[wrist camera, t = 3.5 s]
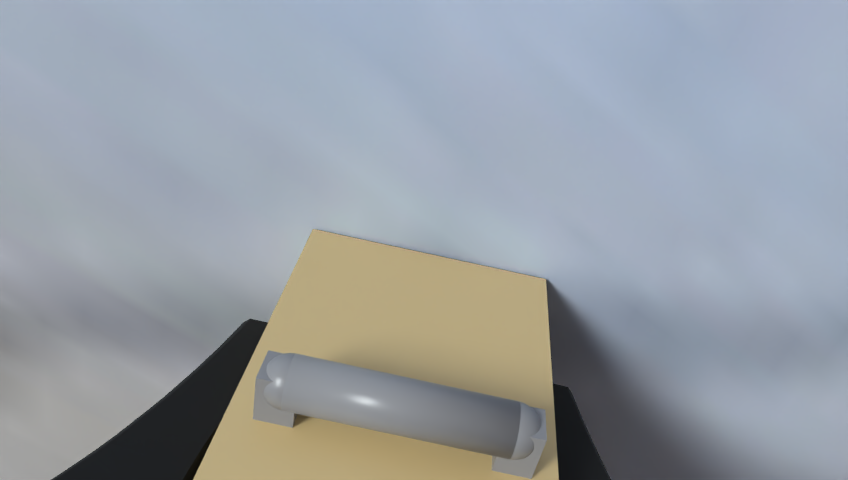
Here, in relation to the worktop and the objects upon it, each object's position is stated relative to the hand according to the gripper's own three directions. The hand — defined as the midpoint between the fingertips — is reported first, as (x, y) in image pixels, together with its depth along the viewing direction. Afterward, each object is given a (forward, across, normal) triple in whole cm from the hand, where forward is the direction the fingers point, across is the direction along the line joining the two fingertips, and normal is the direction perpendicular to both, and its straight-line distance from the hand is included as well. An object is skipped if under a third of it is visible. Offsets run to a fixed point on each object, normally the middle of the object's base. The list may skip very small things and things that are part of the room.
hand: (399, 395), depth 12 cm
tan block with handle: (+2, 0, +3) cm, 3 cm away
